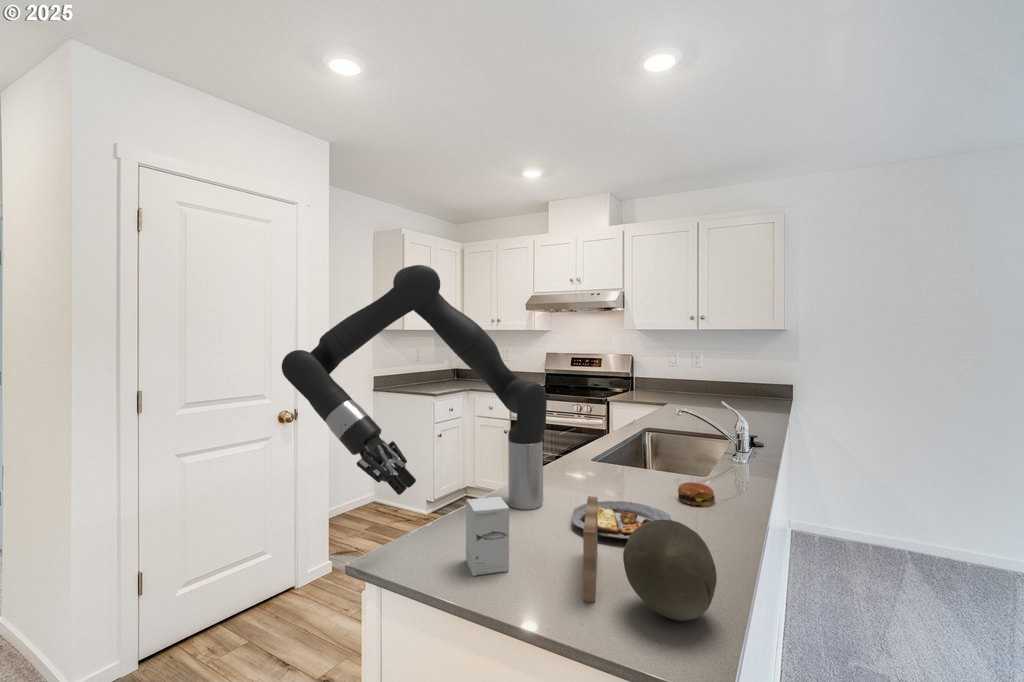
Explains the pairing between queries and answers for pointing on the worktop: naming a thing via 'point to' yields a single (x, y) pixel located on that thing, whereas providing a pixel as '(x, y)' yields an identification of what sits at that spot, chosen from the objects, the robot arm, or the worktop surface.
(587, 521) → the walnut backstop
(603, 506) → the food plate
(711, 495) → the burger
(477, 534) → the supplement box
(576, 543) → the worktop surface
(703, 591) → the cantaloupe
